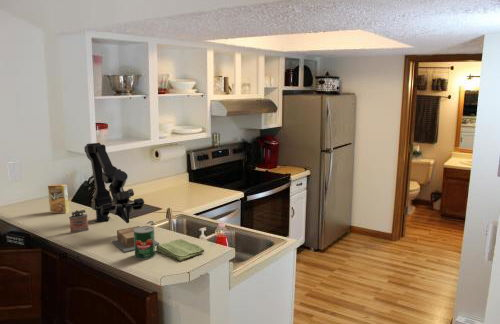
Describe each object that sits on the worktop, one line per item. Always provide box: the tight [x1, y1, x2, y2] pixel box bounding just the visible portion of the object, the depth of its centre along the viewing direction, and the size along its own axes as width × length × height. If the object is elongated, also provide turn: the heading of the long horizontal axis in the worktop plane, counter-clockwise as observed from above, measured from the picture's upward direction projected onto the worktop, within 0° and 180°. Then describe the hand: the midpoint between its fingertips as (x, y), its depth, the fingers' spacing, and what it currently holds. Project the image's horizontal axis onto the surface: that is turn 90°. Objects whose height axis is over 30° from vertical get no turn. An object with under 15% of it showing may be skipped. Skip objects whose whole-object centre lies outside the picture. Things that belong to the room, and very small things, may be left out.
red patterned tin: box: [68, 209, 89, 234], centre depth 201 cm, size 8×3×10 cm, turn 123°
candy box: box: [47, 183, 70, 214], centre depth 233 cm, size 9×4×15 cm, turn 87°
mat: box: [112, 239, 160, 254], centre depth 184 cm, size 15×15×1 cm
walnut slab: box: [116, 225, 141, 248], centre depth 186 cm, size 4×10×13 cm
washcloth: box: [155, 238, 205, 262], centre depth 174 cm, size 13×18×3 cm
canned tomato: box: [134, 225, 156, 261], centre depth 170 cm, size 8×8×11 cm
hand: (128, 222), depth 190 cm, fingers closed
